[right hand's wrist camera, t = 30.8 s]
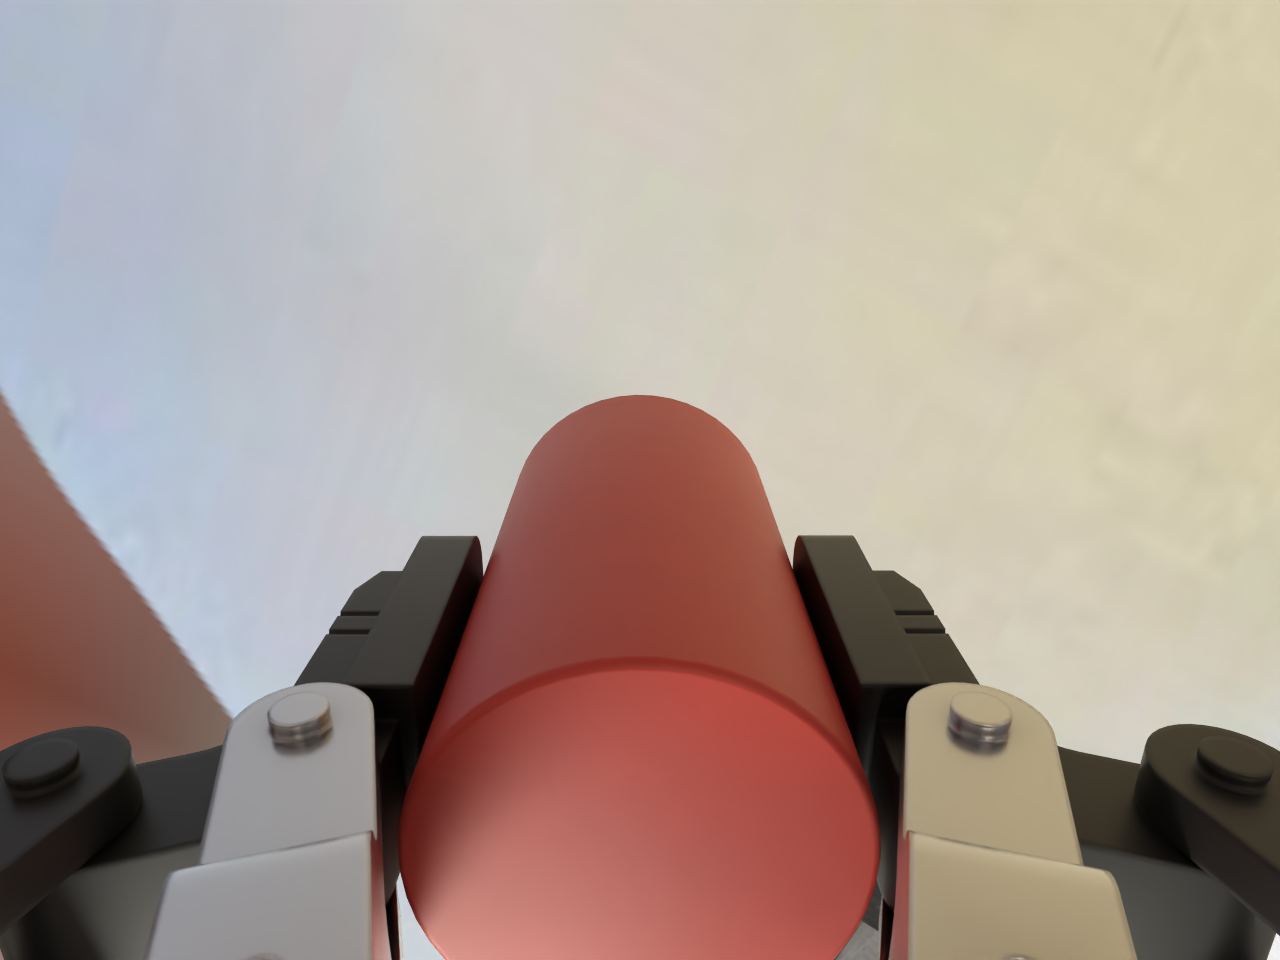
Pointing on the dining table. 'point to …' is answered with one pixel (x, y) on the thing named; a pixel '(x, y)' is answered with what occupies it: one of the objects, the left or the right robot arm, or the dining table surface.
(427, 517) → the dining table surface
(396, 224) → the dining table surface
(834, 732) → the cylinder
